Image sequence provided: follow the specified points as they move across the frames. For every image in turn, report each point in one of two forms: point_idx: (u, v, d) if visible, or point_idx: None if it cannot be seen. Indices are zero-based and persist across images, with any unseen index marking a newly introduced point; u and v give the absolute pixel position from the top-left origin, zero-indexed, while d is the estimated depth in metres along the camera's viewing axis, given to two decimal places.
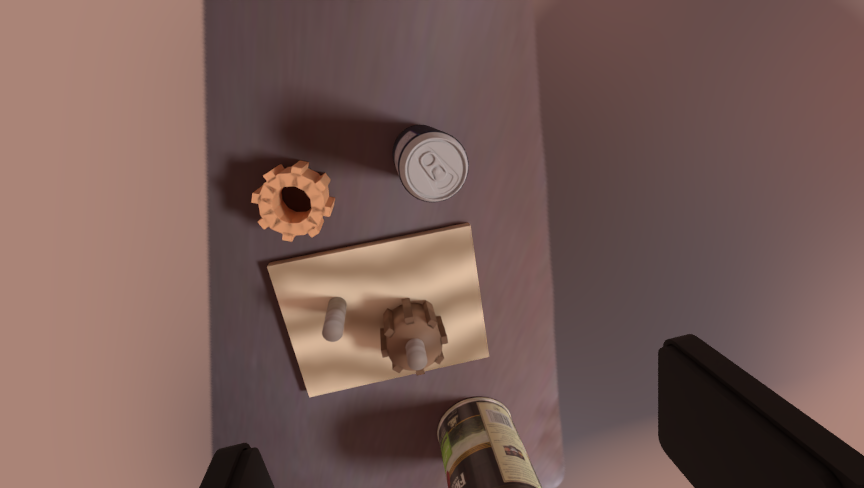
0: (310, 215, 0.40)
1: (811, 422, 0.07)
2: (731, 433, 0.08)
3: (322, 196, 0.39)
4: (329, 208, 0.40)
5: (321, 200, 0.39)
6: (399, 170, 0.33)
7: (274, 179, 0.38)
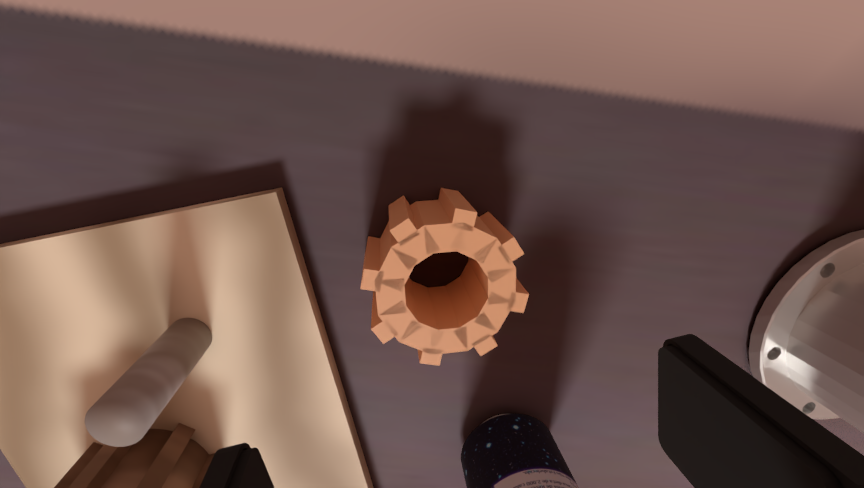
0: (422, 327, 0.18)
1: (811, 422, 0.07)
2: (731, 433, 0.08)
3: (463, 349, 0.19)
4: (437, 362, 0.19)
5: (455, 347, 0.18)
6: None
7: (504, 260, 0.17)
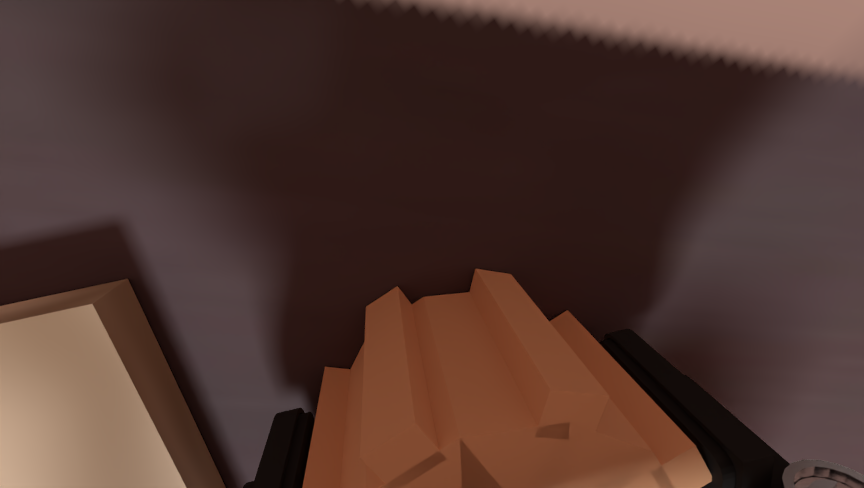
0: None
1: (716, 408, 0.07)
2: None
3: None
4: None
5: None
6: None
7: None
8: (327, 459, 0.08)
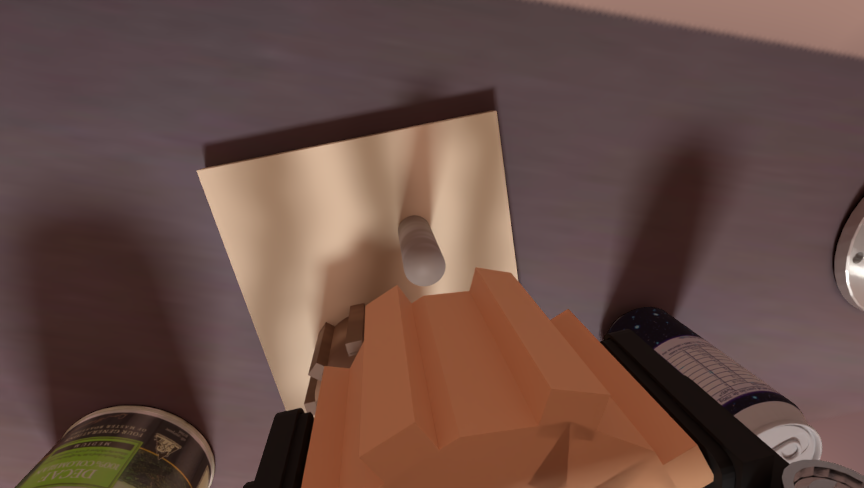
0: None
1: (716, 408, 0.07)
2: None
3: None
4: None
5: None
6: (765, 401, 0.20)
7: None
8: (326, 459, 0.08)
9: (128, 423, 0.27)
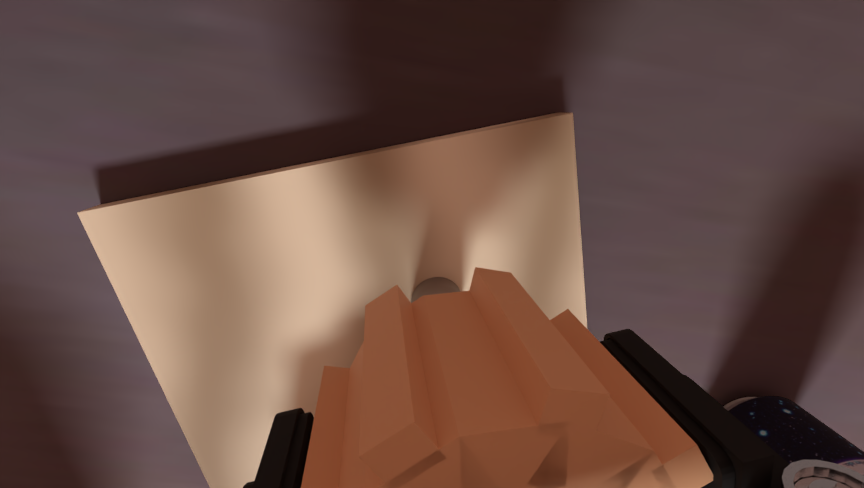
0: None
1: (716, 408, 0.07)
2: None
3: None
4: None
5: None
6: None
7: None
8: (326, 458, 0.08)
9: None
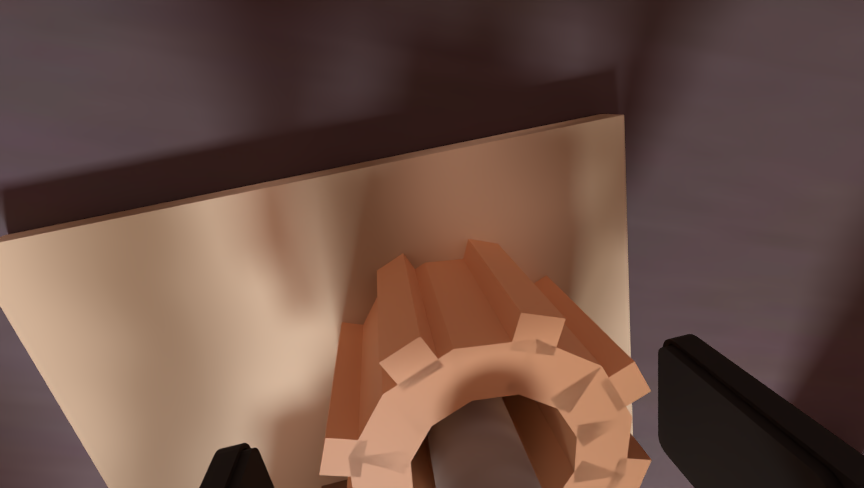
0: None
1: (811, 422, 0.07)
2: (731, 433, 0.08)
3: None
4: None
5: None
6: None
7: (612, 404, 0.09)
8: (348, 384, 0.10)
9: None
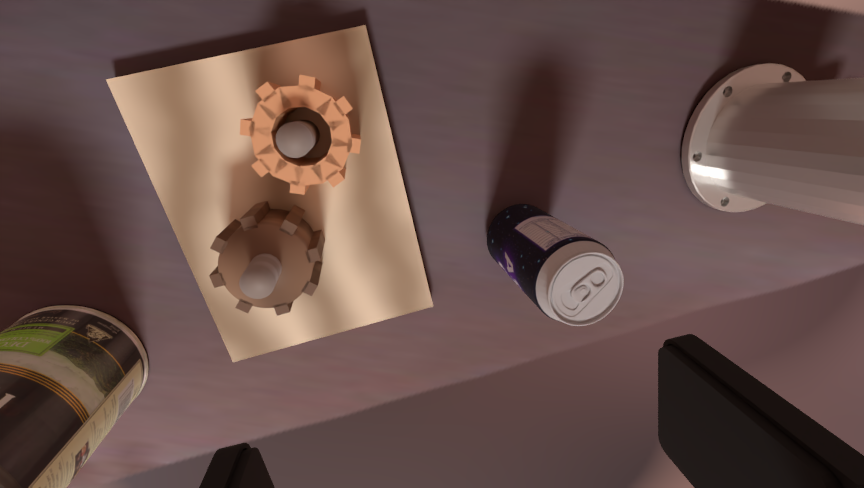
0: (288, 164, 0.26)
1: (811, 422, 0.07)
2: (731, 433, 0.08)
3: (320, 182, 0.27)
4: (302, 192, 0.27)
5: (314, 180, 0.27)
6: (577, 241, 0.25)
7: (339, 113, 0.26)
8: None
9: (62, 316, 0.30)
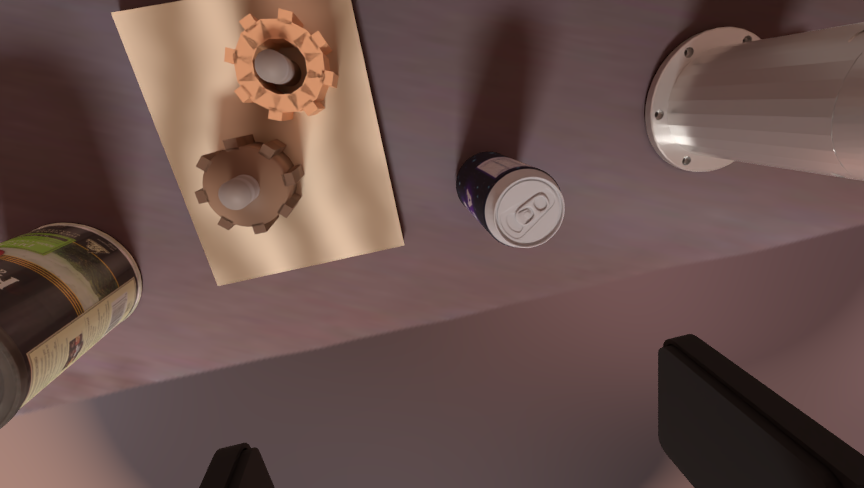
0: (267, 92, 0.29)
1: (811, 422, 0.07)
2: (731, 433, 0.08)
3: (296, 110, 0.30)
4: (280, 119, 0.30)
5: (290, 108, 0.30)
6: (523, 168, 0.28)
7: (314, 46, 0.29)
8: None
9: (65, 230, 0.34)
